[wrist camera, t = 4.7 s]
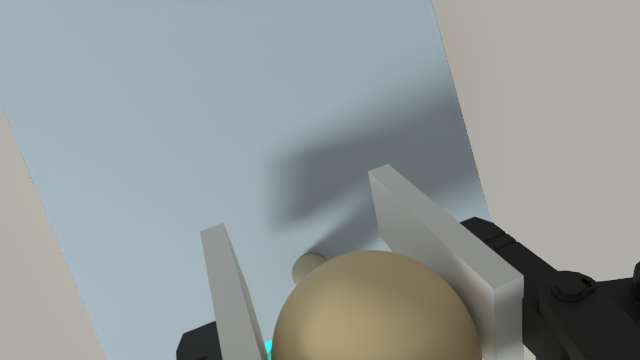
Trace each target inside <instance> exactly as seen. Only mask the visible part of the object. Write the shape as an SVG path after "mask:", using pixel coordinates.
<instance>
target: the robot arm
mask: <svg viewBox="0 0 640 360" xmlns="http://www.w3.org/2000/svg"><path fill="white" fill-rule="evenodd" d="M368 175H369V180H370V186H371V191H372V196H373V202H374V207H375V213H376V218H377V224H378V229H379V234H380V237H381V238H382V239H383V241H384V242H385V243H386V244H387V245H388V247H389V248H390V249H391V250H392V251H393V252H394V253H398V254H402V255H404V256H407V257H409V258H412V259H414V260H417V261H419V262H421V263H423V264H424V265H426V266H428V267H429V268H431V269H432V270H433V271H435V272H436V273H437V274H439V275H440V276H441V277H442V278H444V279H445V280H446V281H447V283H448V284H449V285H450V286H451V287H452V288H453V289H454V290H455V291H456V293H457V294H458V295H459V297H460V298H461V300H462V301H463V302H464V304H465V306H466V308H467V310H468V312H469V314H470V315H471V317H472V319H473V322H474V324H475V327H476V330H477V333H478V338H479V342H480V347H481V351H482V357H483V358H484V359H485V360H524V345H525V346H526V347H527V348H528V349H529V350H530V351H531V352H532V353H533V354H534V355H535V356H536V360H640V262H639V263H637V264H636V266H635V270H634V274H633V277H632V278H624V279H617V280H610V281H601V282H596V281H594V280H593V279H592V278H591V277H588V276H586V275H583V274H581V273H578V272H572V271H557V270H556V269H554V268H553V267H551V266H550V265H549V264H547V263H546V262H545V261H543V260H542V259H541V258H539V257H538V256H537V255H535V254H534V253H532V252H531V251H530V250H529V249H527V248H526V247H524V246H523V245H522V244H521V243H519V242H516V240H515V239H514V238H513V237H511V236H510V235H509V234H506V233H505V232H504V231H503V230H502V229H500V228H499V227H498V226H496V225H495V224H494V223H492V222H490V221H487V220H484V219H481V218H478V217H475V216H474V217H472V218H469V219H467V220H464V221H462V222H458V221H457V220H455V219H454V218H453V217H452V216H451V215H449V214H448V213H447V212H446V211H445V210H443V209H442V208H441V207H440V206H438V205H437V204H436V203H435V202H434V201H432V200H431V199H430V198H429V197H428V196H426V195H425V194H424V193H423V192H421V191H420V190H419V189H418V188H417V187H415V186H414V185H413V184H412V183H411V182H409V181H408V180H407V179H406V178H405V177H403V176H402V175H401V174H400V173H398V172H397V171H396V170H395V169H394V168H392V167H391V166H390V165H389V164H387V165H384V166H381V167H378V168H376V169H373V170H370V171H368ZM200 234H201V240H202V245H203V251H204V257H205V262H206V268H207V274H208V279H209V285H210V291H211V296H212V302H213V308H214V313H215V319H216V321H213V322H211V323H208V324H206V325H203V326H201V327H198V328H196V329H193V330H191V331H188V332H186V333H183V335H182V338H181V340H180V343H179V345H178V348H177V350H176V359H177V360H269V357H268V353H267V350H266V347H265V343H264V340H263V337H262V333H261V330H260V326H259V323H258V320H257V316H256V313H255V310H254V306H253V303H252V300H251V296H250V293H249V289H248V286H247V284H246V281H245V278H244V276H243V273H242V271H241V268H240V265H239V263H238V260H237V257H236V255H235V252H234V249H233V247H232V244H231V241H230V239H229V236H228V234H227V231H226V228H225V226H224V223H222V224H219V225H216V226H213V227H210V228H208V229H205V230H202V231H200Z"/></svg>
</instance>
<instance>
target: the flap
mask: <svg viewBox="0 0 640 360" xmlns="http://www.w3.org/2000/svg"><path fill="white" fill-rule="evenodd" d="M0 105H1V107H2V109H3V112H4V114H5V117H6V119H7V122H8V124H9V126H10V129H11V131H12V134H13V136H14V139H15V141H16V143H17V146H18V148H19V150H20V153H21V155H22V158H23V160H24V163H25V165H26V167H27V170H28V172H29V175H30V177H31V179H32V182H33V184H34V187H35V189H36V191H37V194H38V196H39V199H40V201H41V203H42V206H43V208H44V211H45V213H46V215H47V218H48V220H49V222H50V225H51V227H52V230H53V232H54V234H55V237H56V239H57V242H58V244H59V247H60V249H61V251H62V254H63V256H64V259H65V261H66V263H67V266H68V268H69V271H70V273H71V275H72V278H73V280H74V283H75V285H76V287H77V290H78V292H79V295H80V297H81V299H82V302H83V304H84V307H85V309H86V312H87V314H88V316H89V319H90V321H91V324H92V326H93V328H94V331H95V333H96V336H97V338H98V340H99V343H100V345H101V347H102V350H103V352H104V355H105V357H106V360H177V359H176V350H177V348H178V345H179V343H180V340H181V338H182V335H183V333H186V332H188V331H191V330H193V329H196V328H198V327H201V326H203V325H206V324H208V323H211V322H213V321H216V319H215V313H214V308H213V302H212V296H211V291H210V285H209V279H208V274H207V268H206V262H205V257H204V251H203V245H202V240H201V234H200V231H202V230H205V229H208V228H210V227H213V226H216V225H219V224H222V223H224V226H225V228H226V231H227V234H228V236H229V239H230V241H231V244H232V247H233V249H234V252H235V255H236V257H237V260H238V263H239V265H240V268H241V271H242V273H243V276H244V278H245V281H246V284H247V286H248V289H249V293H250V296H251V300H252V303H253V306H254V310H255V313H256V316H257V320H258V323H259V326H260V330H261V333H262V337H263V340H264V343H266V342H268V341H271V340H272V347H271V360H482V351H481V347H480V342H479V338H478V333H477V330H476V327H475V324H474V322H473V319H472V317H471V315H470V314H469V312H468V310H467V308H466V306H465V304H464V302H463V301H462V300H461V298H460V297H459V295H458V294H457V293H456V291H455V290H454V289H453V288H452V287H451V286H450V285H449V284H448V283H447V281H446V280H445V279H444V278H442V277H441V276H440V275H439V274H437V273H436V272H435V271H433V270H432V269H431V268H429V267H428V266H426V265H424V264H423V263H421V262H419V261H417V260H414V259H412V258H409V257H407V256H404V255H402V254H398V253H394V252H393V251H392V250H391V249H390V248H389V247H388V245H387V244H386V243H385V242H384V241H383V239H382V238H381V237H380V234H379V229H378V224H377V218H376V213H375V207H374V202H373V196H372V191H371V186H370V180H369V175H368V171H370V170H373V169H376V168H378V167H381V166H384V165H387V164H389V165H390V166H391V167H392V168H394V169H395V170H396V171H397V172H398V173H400V174H401V175H402V176H403V177H405V178H406V179H407V180H408V181H409V182H411V183H412V184H413V185H414V186H415V187H417V188H418V189H419V190H420V191H421V192H423V193H424V194H425V195H426V196H428V197H429V198H430V199H431V200H432V201H434V202H435V203H436V204H437V205H438V206H440V207H441V208H442V209H443V210H445V211H446V212H447V213H448V214H449V215H451V216H452V217H453V218H454V219H455V220H457V221H458V222H462V221H464V220H467V219H469V218H472V217H474V216H475V217H478V218H481V219H484V220H487V221H490V222H491V219H490V215H489V211H488V207H487V204H486V200H485V196H484V193H483V189H482V186H481V182H480V178H479V174H478V171H477V167H476V164H475V160H474V156H473V152H472V149H471V145H470V141H469V138H468V134H467V130H466V126H465V123H464V119H463V115H462V112H461V108H460V104H459V101H458V97H457V94H456V90H455V86H454V82H453V79H452V75H451V71H450V68H449V64H448V60H447V57H446V53H445V49H444V46H443V42H442V38H441V35H440V31H439V27H438V23H437V21H436V16H435V13H434V9H433V5H432V2H431V0H0Z"/></svg>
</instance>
